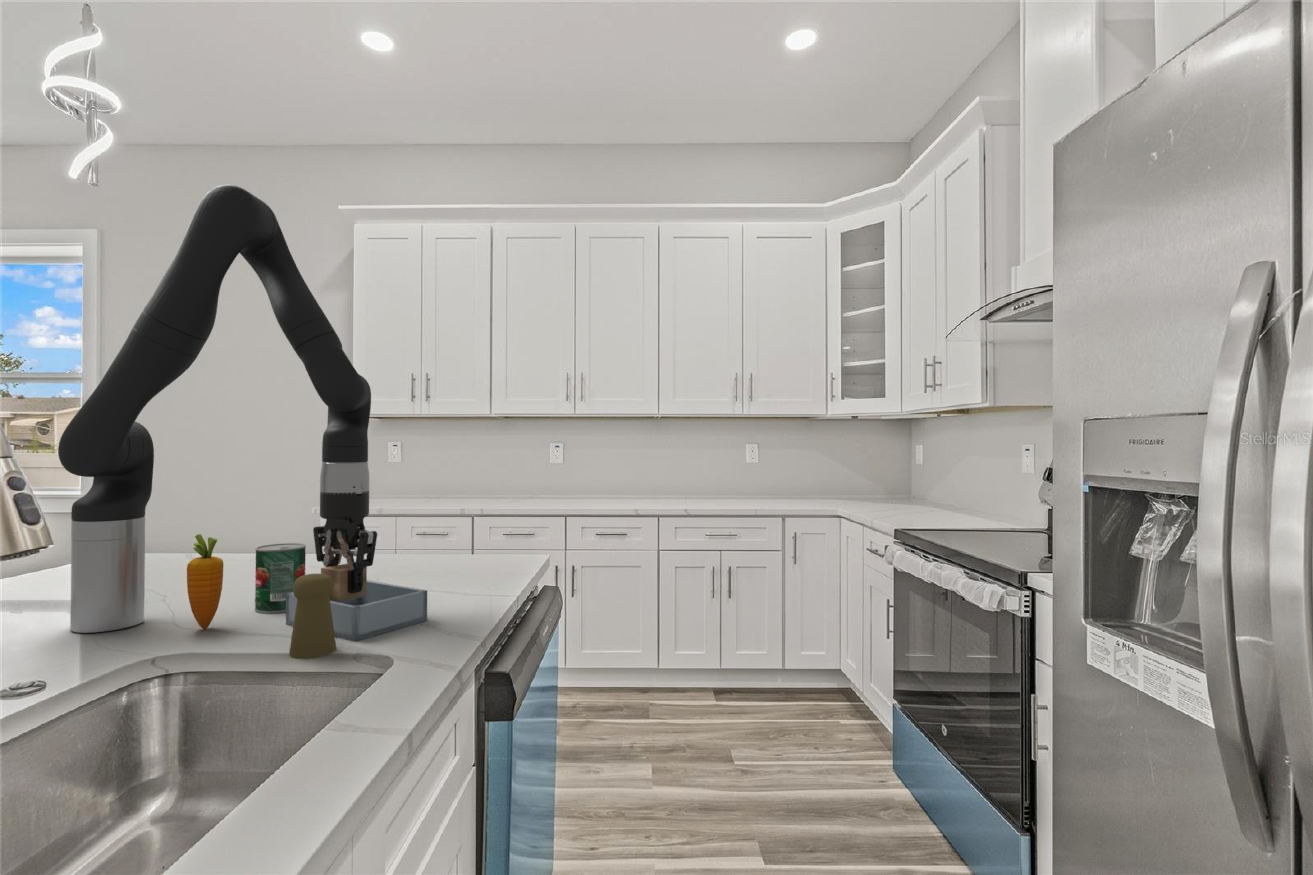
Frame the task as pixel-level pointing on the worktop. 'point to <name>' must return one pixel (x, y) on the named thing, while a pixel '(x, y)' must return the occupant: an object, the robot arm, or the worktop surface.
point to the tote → (372, 611)
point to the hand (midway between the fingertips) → (344, 589)
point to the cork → (312, 617)
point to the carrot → (204, 582)
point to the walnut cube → (343, 582)
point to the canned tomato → (277, 574)
